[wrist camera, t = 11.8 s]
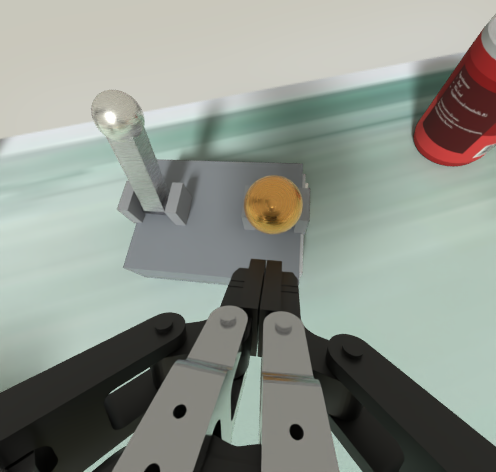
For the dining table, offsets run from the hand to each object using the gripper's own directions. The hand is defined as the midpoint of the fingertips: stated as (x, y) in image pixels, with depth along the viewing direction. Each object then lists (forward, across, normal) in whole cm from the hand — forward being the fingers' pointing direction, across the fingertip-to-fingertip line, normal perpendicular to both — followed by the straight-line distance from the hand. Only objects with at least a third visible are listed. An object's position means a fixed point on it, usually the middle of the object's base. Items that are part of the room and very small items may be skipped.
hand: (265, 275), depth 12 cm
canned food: (+23, -19, -6) cm, 31 cm away
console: (+14, +5, +4) cm, 15 cm away
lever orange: (+10, 0, 0) cm, 10 cm away
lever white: (+10, +11, 0) cm, 15 cm away
